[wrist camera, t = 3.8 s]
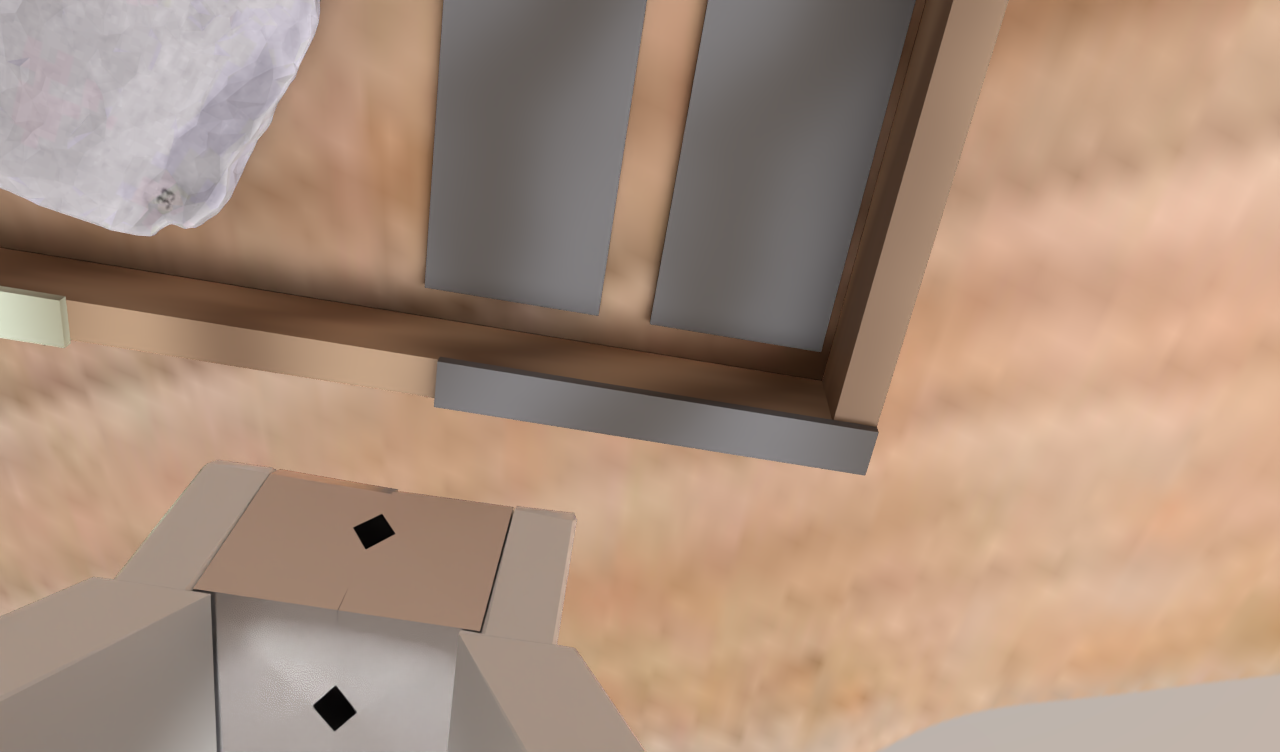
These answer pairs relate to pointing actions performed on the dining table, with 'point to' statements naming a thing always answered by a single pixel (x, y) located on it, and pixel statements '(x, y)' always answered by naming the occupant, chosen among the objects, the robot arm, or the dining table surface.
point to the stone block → (141, 102)
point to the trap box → (582, 223)
